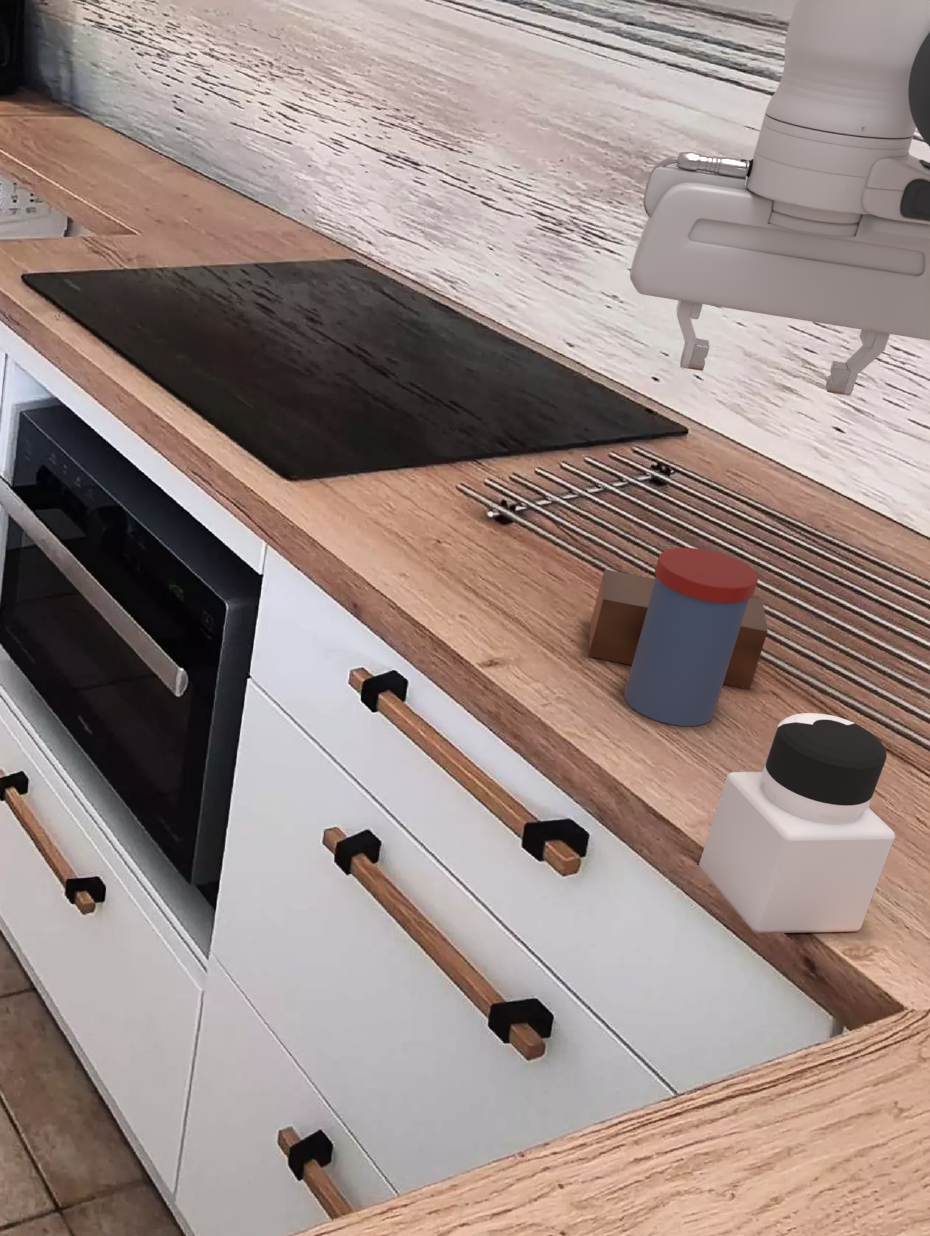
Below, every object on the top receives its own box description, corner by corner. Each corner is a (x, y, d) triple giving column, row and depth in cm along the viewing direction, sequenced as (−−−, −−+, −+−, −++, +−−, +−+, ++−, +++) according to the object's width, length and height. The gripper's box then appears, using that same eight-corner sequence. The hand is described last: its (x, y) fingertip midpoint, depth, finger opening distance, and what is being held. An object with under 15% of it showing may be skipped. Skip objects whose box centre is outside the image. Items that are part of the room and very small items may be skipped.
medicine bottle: (862, 933, 104) (926, 761, 98) (753, 936, 102) (812, 762, 97) (798, 865, 110) (856, 700, 104) (695, 867, 109) (748, 699, 103)
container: (730, 597, 132) (771, 533, 121) (704, 751, 129) (744, 700, 117) (639, 580, 134) (670, 514, 122) (610, 731, 130) (640, 679, 119)
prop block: (745, 656, 137) (763, 599, 134) (749, 689, 132) (768, 631, 129) (589, 625, 139) (604, 568, 137) (588, 656, 134) (603, 598, 132)
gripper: (656, 155, 110) (604, 365, 116) (1003, 205, 105) (929, 420, 112) (655, 139, 115) (606, 340, 122) (985, 185, 111) (916, 392, 117)
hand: (763, 379), depth 117 cm, fingers open, 8 cm apart
